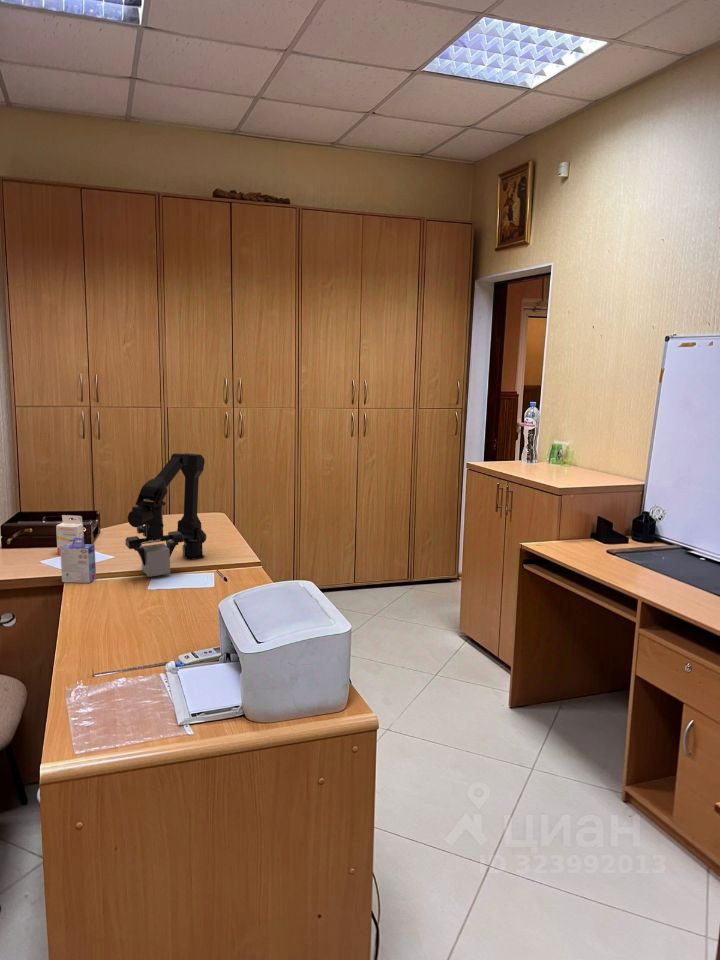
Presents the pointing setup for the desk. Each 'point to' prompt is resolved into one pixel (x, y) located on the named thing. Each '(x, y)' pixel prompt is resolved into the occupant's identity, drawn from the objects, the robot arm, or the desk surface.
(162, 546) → the matte gray cube
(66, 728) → the desk surface
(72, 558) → the ink cartridge box
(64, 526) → the ink cartridge box
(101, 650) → the desk surface
